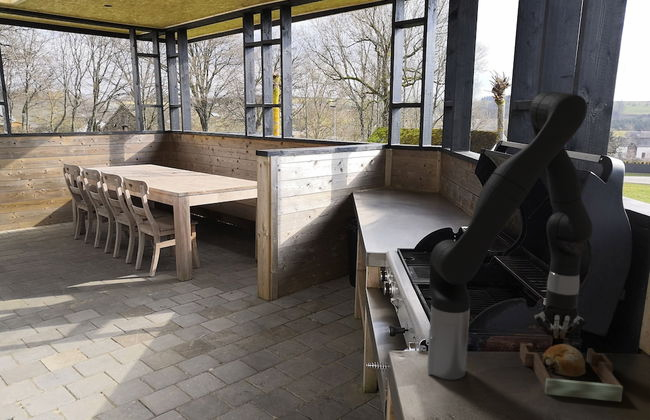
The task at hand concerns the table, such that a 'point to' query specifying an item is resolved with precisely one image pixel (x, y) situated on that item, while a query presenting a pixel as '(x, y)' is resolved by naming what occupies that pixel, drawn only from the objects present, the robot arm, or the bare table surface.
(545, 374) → the box
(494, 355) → the table surface
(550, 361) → the bread roll
